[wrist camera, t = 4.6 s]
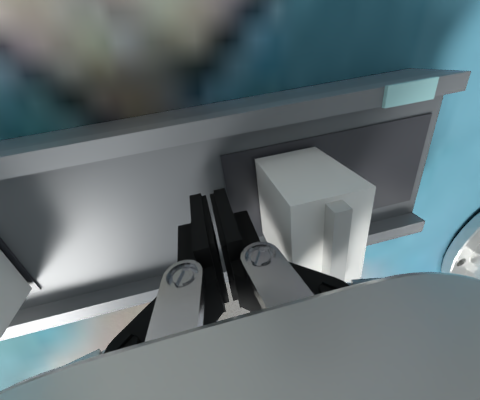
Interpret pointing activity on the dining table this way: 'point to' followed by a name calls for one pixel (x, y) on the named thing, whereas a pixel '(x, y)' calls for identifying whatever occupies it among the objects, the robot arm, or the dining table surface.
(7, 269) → the tab
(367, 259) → the dining table surface
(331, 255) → the tab
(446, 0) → the dining table surface
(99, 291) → the switch board
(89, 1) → the dining table surface
